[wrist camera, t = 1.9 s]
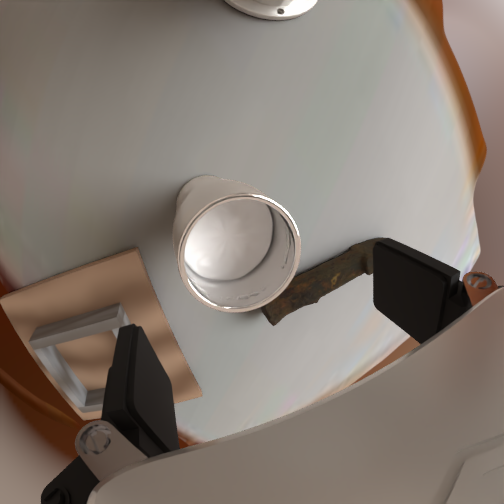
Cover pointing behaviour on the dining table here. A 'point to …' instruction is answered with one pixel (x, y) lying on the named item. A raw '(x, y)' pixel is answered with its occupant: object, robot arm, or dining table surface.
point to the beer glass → (233, 244)
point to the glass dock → (94, 328)
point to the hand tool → (321, 281)
